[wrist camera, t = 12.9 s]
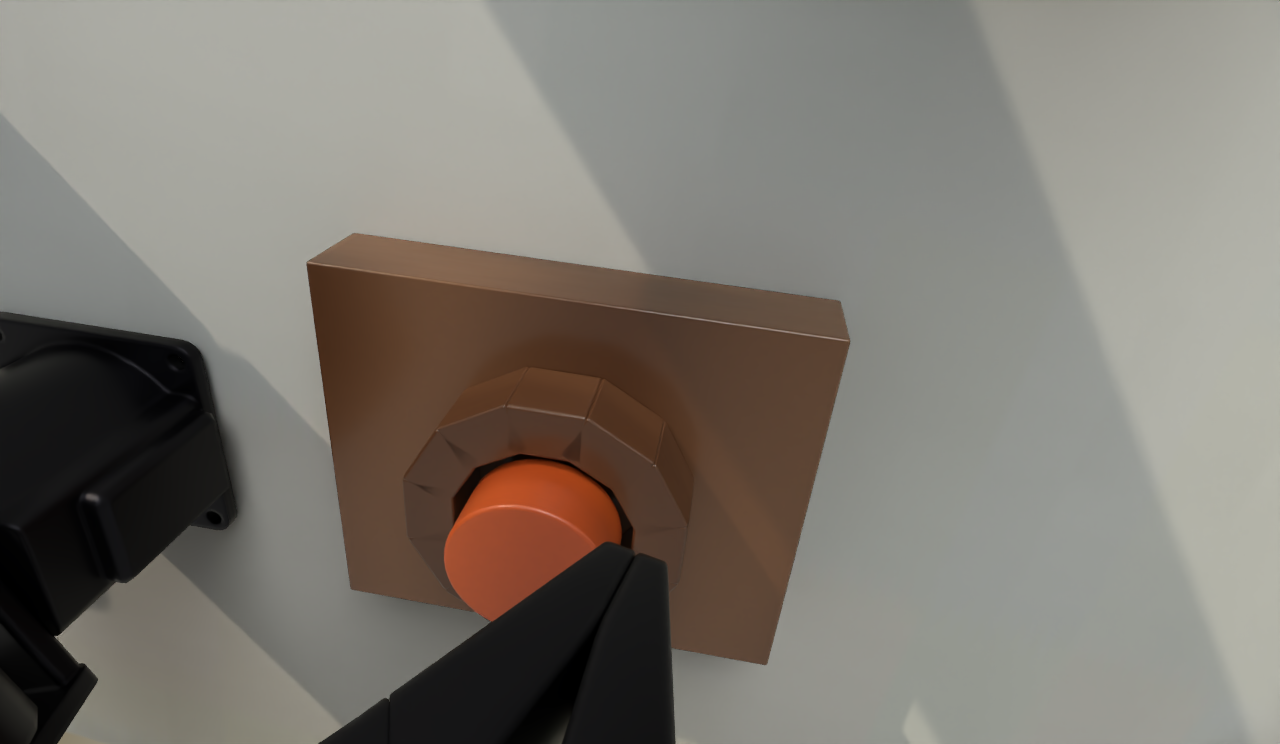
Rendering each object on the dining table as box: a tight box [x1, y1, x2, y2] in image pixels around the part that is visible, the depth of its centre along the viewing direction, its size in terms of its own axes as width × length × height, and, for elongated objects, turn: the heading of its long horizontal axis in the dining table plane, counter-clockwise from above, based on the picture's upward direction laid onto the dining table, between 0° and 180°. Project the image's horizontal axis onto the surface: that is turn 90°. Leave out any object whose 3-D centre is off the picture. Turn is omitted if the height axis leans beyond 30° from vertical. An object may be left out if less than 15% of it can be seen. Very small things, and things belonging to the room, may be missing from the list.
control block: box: [307, 233, 850, 665], centre depth 18 cm, size 12×10×4 cm
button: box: [444, 459, 622, 622], centre depth 16 cm, size 4×4×2 cm
